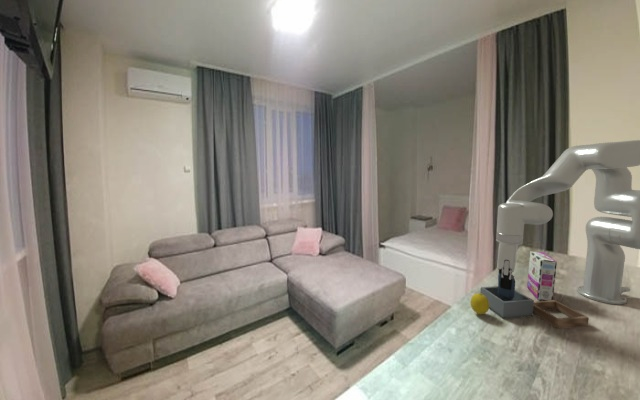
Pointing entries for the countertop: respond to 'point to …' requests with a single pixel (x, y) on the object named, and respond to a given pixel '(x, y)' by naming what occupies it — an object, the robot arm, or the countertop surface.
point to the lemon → (479, 303)
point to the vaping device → (506, 292)
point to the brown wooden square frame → (574, 316)
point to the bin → (508, 303)
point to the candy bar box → (541, 276)
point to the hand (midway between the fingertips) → (506, 285)
